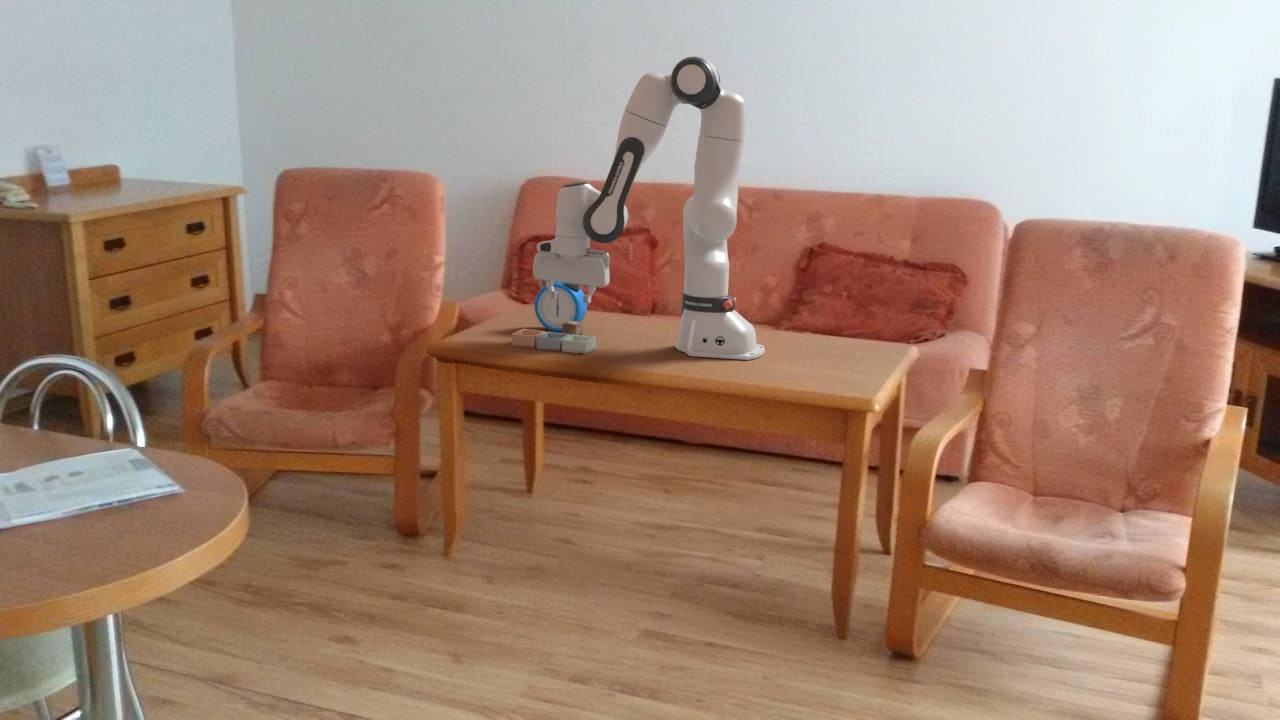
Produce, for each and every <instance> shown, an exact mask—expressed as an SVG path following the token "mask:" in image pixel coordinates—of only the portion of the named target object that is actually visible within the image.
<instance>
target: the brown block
mask: <svg viewBox="0 0 1280 720" xmlns="http://www.w3.org/2000/svg"><path fill="white" fill-rule="evenodd" d="M583 324H584V322H583V321H581V322H579V321H570V320H568V321H566V322H564V323H562V332H561V333H564V334H571V335H581V336H584V334H583V330H584V325H583Z"/></svg>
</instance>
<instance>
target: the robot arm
mask: <svg viewBox="0 0 1280 720" xmlns="http://www.w3.org/2000/svg"><path fill="white" fill-rule="evenodd" d="M680 104H684V105H691V106H693V107H695V108H697V109H698V110H699V111H700V115H701V119H700V127H699V135H698V141H697V145H696V152H695V153H696V154H695V159H694V166H693V171H694V175H693V176H694V180H693V182H694V184H693V185H694V186H693V195H691V196H690V197H689V198H688V199H687V201H685V203H684V206H683V210H682V211H683V212H682V222H683V223H682V224H683V228H682V229H683V230H682V233H683V248H684V249H683V251H684V278H683V279H684V281H683V283H684V286H683V287H684V288H683V289H684V290H683V292H682V295H681V300H680V301H681V302H680V303H681V304H680V307H681V315H682V316H681V323H680V329H679V334H678V339H677V341H676V344H675V349H677V350H678V351H680V352H684V353H685V354H686V355H688V356H689V357H700V358H701V357H702V358H713V359H714V358H715V359H730V360H744V361H747V360H748V361H749V360H754V359H757V358H759V357H761V356H763V355H764V354H765V351H766V349H765V346H764V345H762V344H759V343H757V335H756V330H755V328H754V326H753V324H752V323H750V322H749V321H748V320H747V319H745V317H743V316H742V315H741V314H740V313H739V312H738V311H737V310H735V307H736V302H737V297H732V296H731V295H730V294H729V280H730V276H729V275H730V260H729V253H728V252H729V251H728V239H729V238H730V237H731V236H733V234H734V232H735V230H736V228H737V219H738V218H737V213H738V202H739V180H740V179H739V177H740V168H741V161H742V155H743V149H744V143H745V137H746V136H745V135H746V127H747V126H746V125H747V105H746V101H745V99H744V98H743V97H742V96H741V95H739V94H738V93H737V92H734V91H730V90H726V89H723V87H721V76H720V74H719V71H718V70H717V68H716V67H715V66H714V64H713V63H712V62H711V61H709V60H708V59H706V58H703V57H698V56H688V57H686V58H683V59H681V60H680V61H678V63H676V64H675V66H674V67H673V69H672V72H671V74H663V73H660V72H657V71H656V72H655V71H654V72H647V73H645V74H643V75H642V76H641V77H640V79H639V80H638V82H637V83H636V85H635V87H634V89H633V90H632V93H631V94H630V97H629V99H628V101H627V104H626V106H625V108H624V109H625V110H624V111H623V114H622V117H621V120H620V125H619V129H618V133H617V140H616V146H615V153H614V158H613V160H612V164H611V167H610V170H609V172H608V175H607V176H606V178H605V179H606V180H605V182H604V184H603V187H602V190H601V191H600V190H599V189H596V188H595V187H594V186H592V185H591V184H590V183H589V182H585V181H578V182H570V183H566V184H565V185H563V186H562V187H561V188H559V191H558V193H557V199H556V210H555V211H556V212H555V219H556V225H557V226H556V230H555V234H554V238H550V239H548V240H545V241H541V242H539V243H537V244H536V251H537V252H536V253H535V255H534V259H533V264H532V275H533V277H534V278H535V280H540V281H541V280H546V285H545V286H547V288H548V290H549V291H550V298H554V299H556V298H557V296H558V295H557V294H558V291H555V290H554V287H553V285H552V284H554V282H563V283H571V284H579V285H582V286H587V290H588V293H587V294H584V295H585V296H583V299H584V300H583V302H584V303H587V304H590V303H591V302H592V296H593V295H594V293H595V291H596V289H597V288H605V287H607V286H608V285H609V284H610V280H611V279H610V264H611V263H610V262H611V256H610V254H609V253H608V252H606V250H604V249H596V248H590V247H591V240H592V241H593V242H596V243H600V244H609V243H612V242H614V241H617V240H618V239H619V237H621V235H622V234H623V231H624V229H625V227H626V225H627V224H628V222H629V210H628V208H627V206H626V202H627V199H628V196H629V194H630V192H631V189H632V186H633V184H634V182H635V179H636V176H637V174H638V172H639V170H640V169H641V168H642V166H643V165H644V163H645V162H646V161H647V160H648V159H649V158H650V156H652V154H653V153H654V152H655V150H656V149H657V147H658V146H659V144H660V142H661V140H662V138H663V137H664V134H665V131H666V130H667V127H668V125H669V121H670V119H671V117H672V114H673V111H674V110H675V109H676V107H678V105H680Z"/></svg>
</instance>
